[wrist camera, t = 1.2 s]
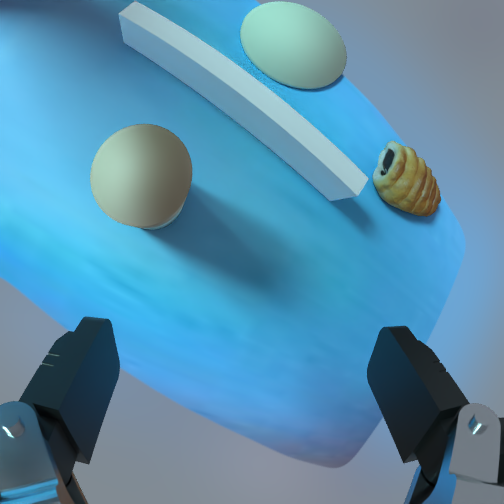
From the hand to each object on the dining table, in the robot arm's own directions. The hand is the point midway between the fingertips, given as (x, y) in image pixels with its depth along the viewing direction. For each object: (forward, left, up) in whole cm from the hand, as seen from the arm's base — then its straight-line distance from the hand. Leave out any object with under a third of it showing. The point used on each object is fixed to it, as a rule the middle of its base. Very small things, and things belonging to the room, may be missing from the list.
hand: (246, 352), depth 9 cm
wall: (+5, +15, -19) cm, 25 cm away
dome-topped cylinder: (-3, +7, -19) cm, 21 cm away
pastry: (+23, +7, -20) cm, 31 cm away
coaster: (+13, +23, -19) cm, 32 cm away
